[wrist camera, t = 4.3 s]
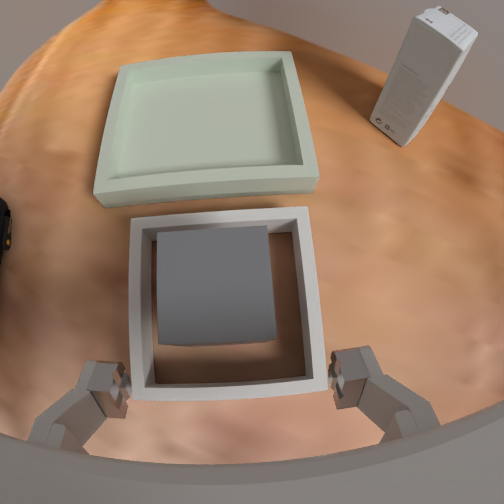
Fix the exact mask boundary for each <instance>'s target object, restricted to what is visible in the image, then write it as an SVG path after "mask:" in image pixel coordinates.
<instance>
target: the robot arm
mask: <svg viewBox="0 0 504 504" xmlns="http://www.w3.org/2000/svg"><path fill="white" fill-rule="evenodd" d="M330 358H331V361H332V363H331V364H330V365H329V369H328V379H329V384H330V387H331V388H332V389H333V390H334V395H333V398H334V401H335V405H336V408H337V409H344V408H351V407H357V406H358V407H357V408H358V409H360V410H361V411H362V412H363V413H364V414H365V415H366V416H367V417H368V418H369V419H371V420H372V421H373V422H374V423H375V424H376V425H377V426H378V427H379V428H381V429H382V430H383V431H384V432H385V434H384V436H383V438H382V439H381V441H380V443H379V444H376V445H372V446H367V447H363V448H358V449H353V450H348V451H343V452H338V453H333V454H327V455H321V456H314V457H307V458H300V459H292V460H283V461H272V462H260V463H245V464H215V465H196V464H166V463H151V462H139V461H130V460H121V459H113V458H106V457H99V456H93V455H89V453H88V452H87V451H86V450H85V449H84V448H83V447H82V446H83V445H84V444H85V443H86V442H87V440H88V439H89V438H90V437H91V436H92V435H93V434H94V433H95V431H96V430H97V429H98V428H99V427H100V426H101V425H102V423H103V422H104V421H105V420H106V419H107V418H121V419H125V417H126V413H127V408H128V405H127V403H126V400H128V399H129V398H130V395H131V381H130V378H129V375H127V374H126V373H125V372H124V370H125V367H124V365H123V363H122V362H113V361H96V360H88V361H87V362H86V363H85V365H84V368H83V370H82V373H81V375H80V378H79V380H78V383H77V386H76V388H75V389H72V390H70V391H69V392H68V393H67V394H66V395H64V396H63V397H62V398H61V399H59V400H58V401H57V402H56V403H54V404H53V405H52V406H51V407H49V408H48V409H47V410H46V411H45V412H43V413H42V414H41V415H40V416H38V417H37V418H36V420H35V422H34V425H33V427H32V430H31V433H30V435H29V438H28V441H25V440H22V439H18V438H15V437H12V436H8V435H5V434H2V433H0V504H504V400H502V401H500V402H498V403H496V404H493V405H491V406H489V407H487V408H484V409H482V410H480V411H477V412H475V413H473V414H470V415H468V416H465V417H462V418H460V419H457V420H455V421H452V422H449V423H446V424H444V425H440V423H439V421H438V419H437V417H436V415H435V413H434V410H433V408H432V406H431V404H430V402H428V401H427V400H425V399H424V398H422V397H421V396H419V395H417V394H416V393H414V392H413V391H411V390H410V389H408V388H407V387H405V386H404V385H402V384H401V383H399V382H398V381H396V380H394V379H393V378H391V377H390V376H388V375H383V373H382V371H381V368H380V366H379V364H378V362H377V360H376V357H375V355H374V353H373V351H372V349H371V347H370V346H363V347H357V348H349V349H343V350H336V351H332V353H331V357H330Z"/></svg>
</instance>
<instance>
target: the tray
mask: <svg viewBox="0 0 504 504" xmlns="http://www.w3.org/2000/svg"><path fill="white" fill-rule="evenodd" d="M319 178H320V175H319V170H318V165H317V160H316V155H315V150H314V145H313V141H312V136H311V131H310V127H309V122H308V118H307V113H306V109H305V105H304V100H303V96H302V92H301V88H300V84H299V80H298V76H297V72H296V68H295V64H294V60H293V57H292V53H291V51H248V52H225V53H211V54H199V55H189V56H180V57H172V58H165V59H158V60H151V61H145V62H140V63H134V64H129V65H123V66H121V67H120V70H119V73H118V77H117V80H116V84H115V88H114V91H113V95H112V99H111V103H110V107H109V111H108V115H107V120H106V124H105V129H104V133H103V138H102V143H101V148H100V153H99V159H98V164H97V170H96V176H95V183H94V189H93V195H94V196H95V197H96V198H97V199H98V201H99V202H100V203H101V204H102V205H103V206H104V207H105V208H112V207H121V206H131V205H140V204H151V203H162V202H173V201H185V200H198V199H211V198H226V197H242V196H260V195H281V194H307V193H313V192H314V190H315V187H316V185H317V182H318V180H319Z"/></svg>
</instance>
